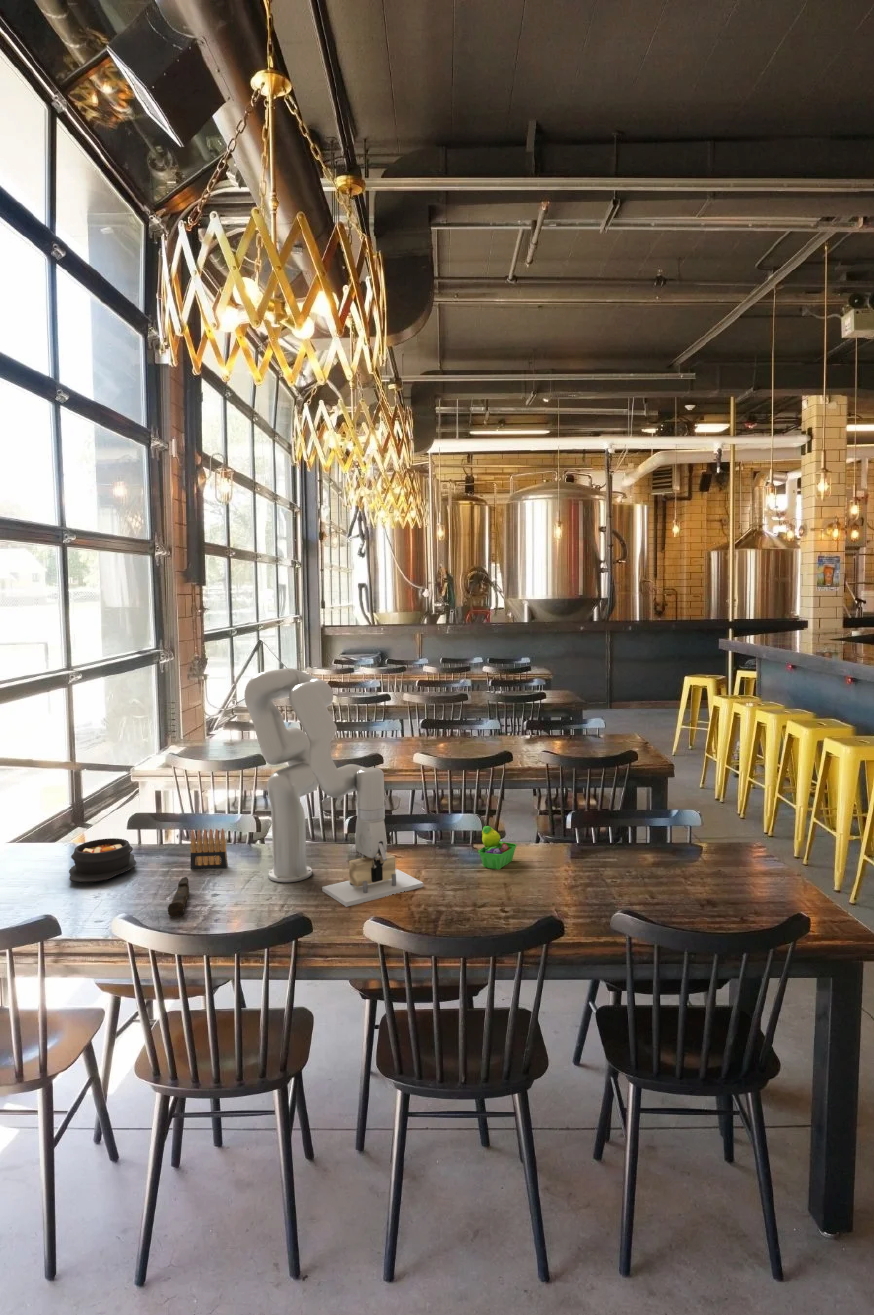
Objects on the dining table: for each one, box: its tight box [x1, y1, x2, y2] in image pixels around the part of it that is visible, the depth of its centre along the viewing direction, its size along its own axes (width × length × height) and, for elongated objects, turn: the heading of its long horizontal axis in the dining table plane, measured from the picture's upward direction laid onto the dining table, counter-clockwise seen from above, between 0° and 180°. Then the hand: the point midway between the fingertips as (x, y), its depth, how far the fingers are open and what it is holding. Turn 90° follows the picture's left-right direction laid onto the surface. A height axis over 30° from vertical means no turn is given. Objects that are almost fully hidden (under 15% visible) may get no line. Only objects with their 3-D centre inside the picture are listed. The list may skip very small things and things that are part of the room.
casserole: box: [68, 837, 137, 883], centre depth 241 cm, size 25×19×8 cm
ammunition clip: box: [190, 828, 228, 871], centre depth 244 cm, size 11×2×12 cm, turn 93°
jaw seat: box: [321, 868, 424, 908], centre depth 224 cm, size 14×24×4 cm, turn 124°
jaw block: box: [348, 852, 396, 887], centre depth 224 cm, size 4×12×6 cm, turn 124°
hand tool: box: [167, 876, 190, 917], centre depth 217 cm, size 19×4×5 cm, turn 7°
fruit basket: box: [477, 825, 518, 870], centre depth 243 cm, size 11×9×11 cm
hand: (372, 877), depth 224 cm, fingers closed on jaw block, 4 cm apart
